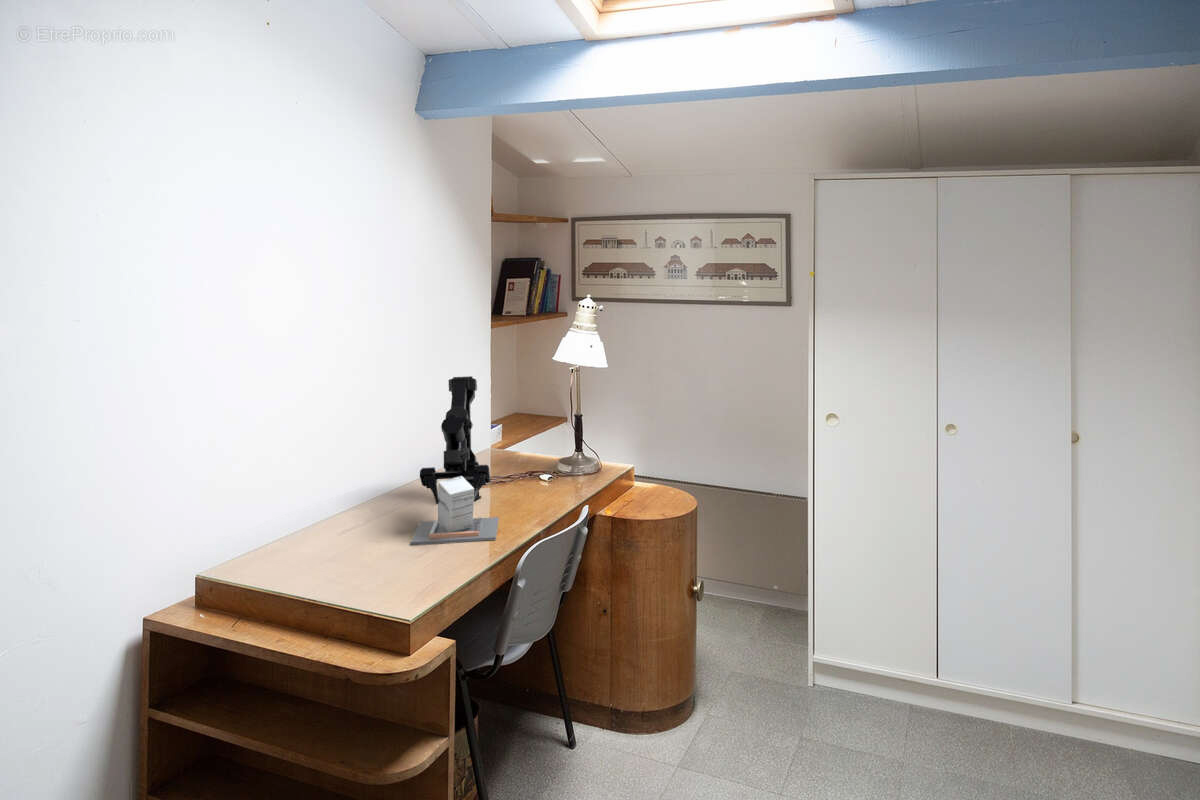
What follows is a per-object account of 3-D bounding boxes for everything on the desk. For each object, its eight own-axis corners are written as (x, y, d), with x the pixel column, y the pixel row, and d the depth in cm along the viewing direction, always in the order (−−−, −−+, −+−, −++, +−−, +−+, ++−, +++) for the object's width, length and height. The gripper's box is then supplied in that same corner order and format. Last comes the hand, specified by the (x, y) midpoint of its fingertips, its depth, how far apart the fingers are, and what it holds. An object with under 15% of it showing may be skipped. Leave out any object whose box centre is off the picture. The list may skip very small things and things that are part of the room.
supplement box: (436, 520, 217) (437, 481, 212) (461, 513, 221) (462, 474, 216) (448, 534, 212) (449, 494, 206) (473, 527, 216) (475, 487, 210)
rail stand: (420, 524, 224) (420, 518, 224) (498, 519, 226) (498, 513, 226) (410, 545, 207) (410, 538, 206) (495, 540, 208) (495, 533, 208)
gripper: (418, 439, 216) (414, 489, 206) (487, 435, 217) (487, 485, 208) (424, 461, 225) (421, 509, 215) (490, 457, 226) (490, 506, 217)
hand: (454, 502), depth 214 cm, fingers closed on supplement box, 9 cm apart
